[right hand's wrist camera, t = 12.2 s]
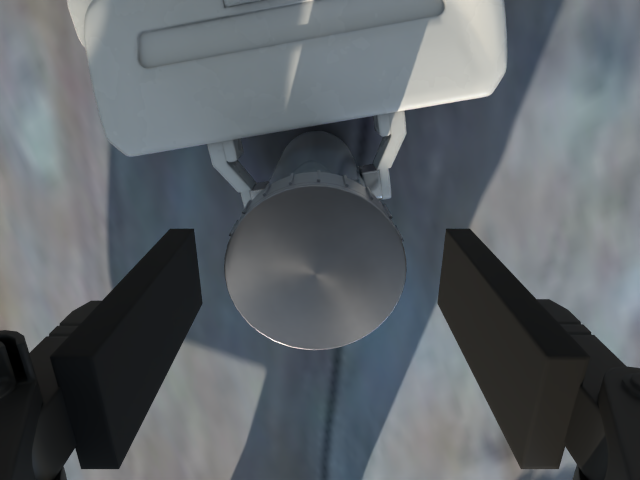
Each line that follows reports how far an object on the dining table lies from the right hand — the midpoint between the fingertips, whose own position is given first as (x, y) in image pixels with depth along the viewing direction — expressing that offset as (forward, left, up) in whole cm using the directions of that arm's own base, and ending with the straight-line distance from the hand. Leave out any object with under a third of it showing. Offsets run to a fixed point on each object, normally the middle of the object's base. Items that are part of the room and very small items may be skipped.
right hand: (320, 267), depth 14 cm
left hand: (0, -1, -11) cm, 11 cm away
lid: (0, 0, 0) cm, 1 cm away
